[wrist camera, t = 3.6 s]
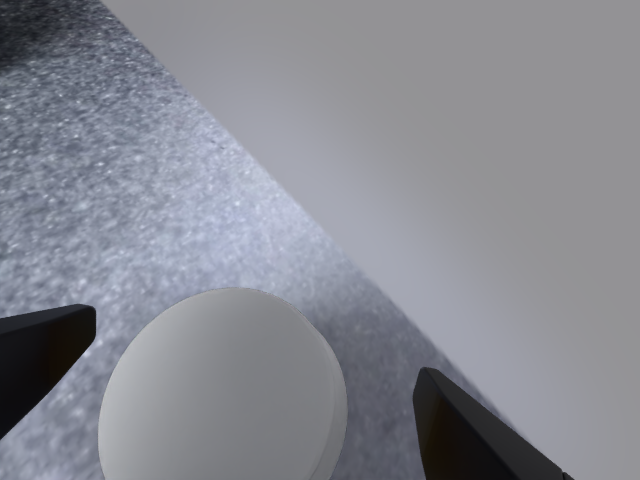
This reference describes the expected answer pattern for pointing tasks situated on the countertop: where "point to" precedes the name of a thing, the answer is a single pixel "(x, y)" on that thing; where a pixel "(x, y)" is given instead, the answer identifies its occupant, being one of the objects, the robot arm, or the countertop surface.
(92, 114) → the countertop surface
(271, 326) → the supplement bottle
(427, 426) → the robot arm
